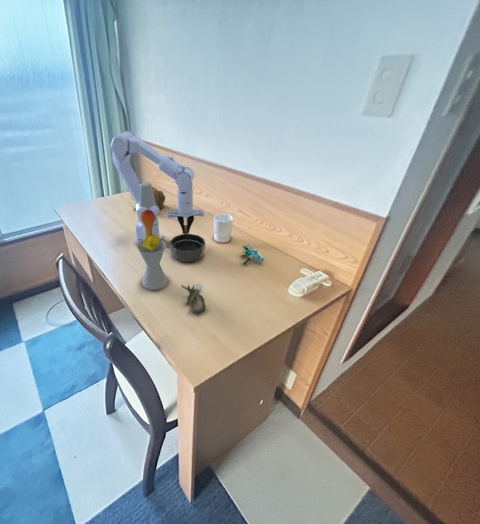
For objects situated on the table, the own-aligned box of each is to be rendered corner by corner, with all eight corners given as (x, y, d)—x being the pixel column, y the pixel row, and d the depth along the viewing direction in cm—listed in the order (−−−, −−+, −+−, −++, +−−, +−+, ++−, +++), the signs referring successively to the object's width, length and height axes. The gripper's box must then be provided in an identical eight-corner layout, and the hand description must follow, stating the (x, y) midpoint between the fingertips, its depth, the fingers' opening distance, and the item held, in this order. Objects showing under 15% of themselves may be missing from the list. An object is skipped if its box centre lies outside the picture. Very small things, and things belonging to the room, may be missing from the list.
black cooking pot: (207, 261, 106) (207, 243, 102) (171, 263, 106) (170, 246, 101) (201, 240, 119) (201, 223, 115) (169, 242, 119) (169, 225, 115)
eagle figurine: (175, 295, 90) (181, 310, 82) (185, 276, 88) (193, 290, 80) (194, 303, 93) (202, 318, 85) (205, 285, 91) (214, 299, 83)
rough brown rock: (174, 213, 147) (175, 185, 139) (145, 219, 139) (144, 189, 132) (154, 201, 164) (153, 175, 157) (127, 205, 157) (125, 178, 149)
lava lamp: (136, 283, 98) (122, 184, 78) (154, 271, 103) (145, 176, 84) (155, 293, 93) (145, 191, 73) (173, 280, 98) (168, 181, 79)
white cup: (230, 244, 118) (232, 222, 112) (211, 242, 119) (212, 221, 114) (231, 235, 124) (233, 214, 118) (213, 233, 126) (214, 213, 120)
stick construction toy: (268, 261, 102) (257, 246, 99) (255, 274, 102) (243, 260, 99) (252, 253, 113) (241, 239, 110) (239, 265, 113) (228, 252, 111)
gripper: (166, 206, 104) (168, 238, 112) (205, 204, 105) (204, 236, 112) (166, 199, 110) (167, 230, 118) (202, 197, 111) (202, 228, 118)
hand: (185, 232), depth 116 cm, fingers closed on black cooking pot
